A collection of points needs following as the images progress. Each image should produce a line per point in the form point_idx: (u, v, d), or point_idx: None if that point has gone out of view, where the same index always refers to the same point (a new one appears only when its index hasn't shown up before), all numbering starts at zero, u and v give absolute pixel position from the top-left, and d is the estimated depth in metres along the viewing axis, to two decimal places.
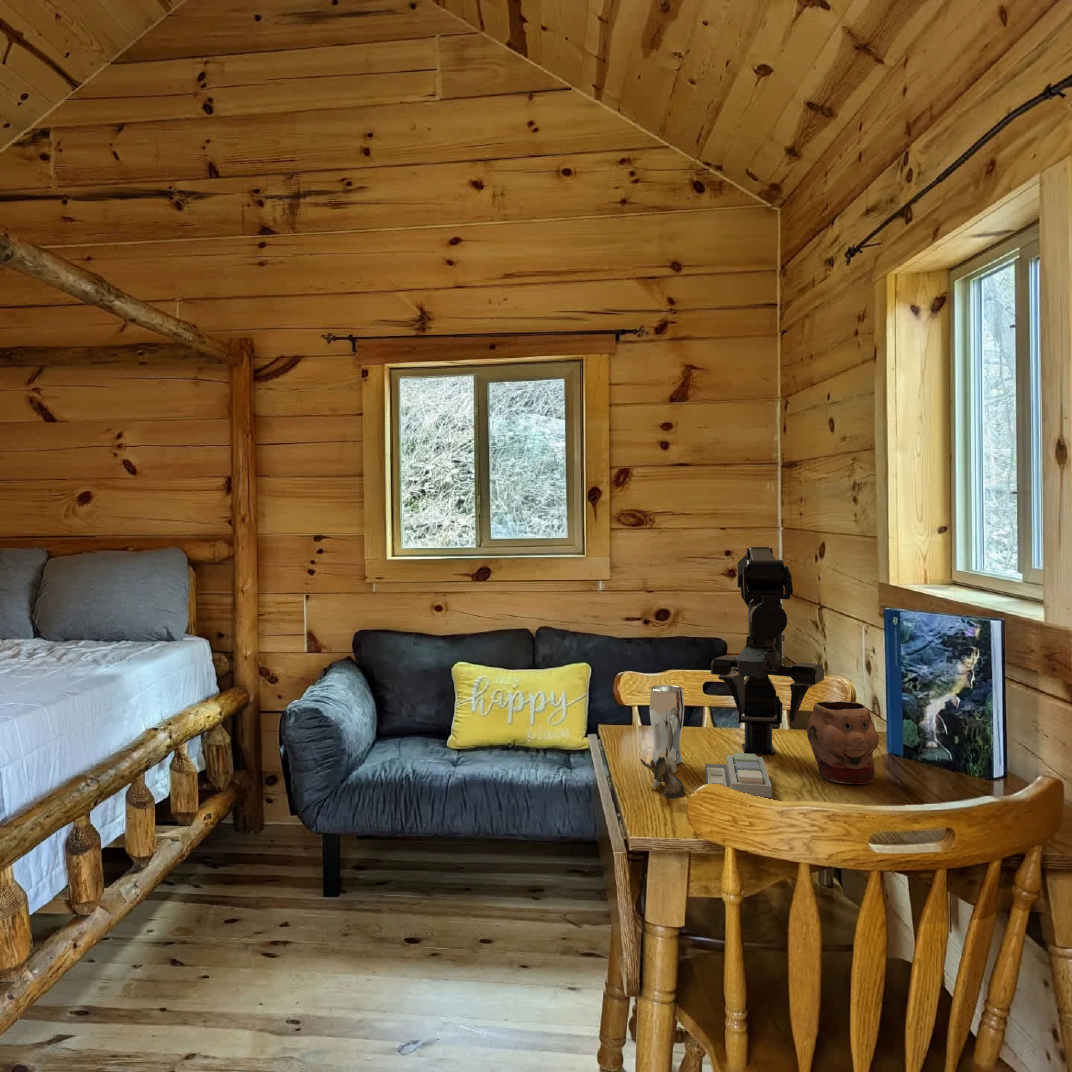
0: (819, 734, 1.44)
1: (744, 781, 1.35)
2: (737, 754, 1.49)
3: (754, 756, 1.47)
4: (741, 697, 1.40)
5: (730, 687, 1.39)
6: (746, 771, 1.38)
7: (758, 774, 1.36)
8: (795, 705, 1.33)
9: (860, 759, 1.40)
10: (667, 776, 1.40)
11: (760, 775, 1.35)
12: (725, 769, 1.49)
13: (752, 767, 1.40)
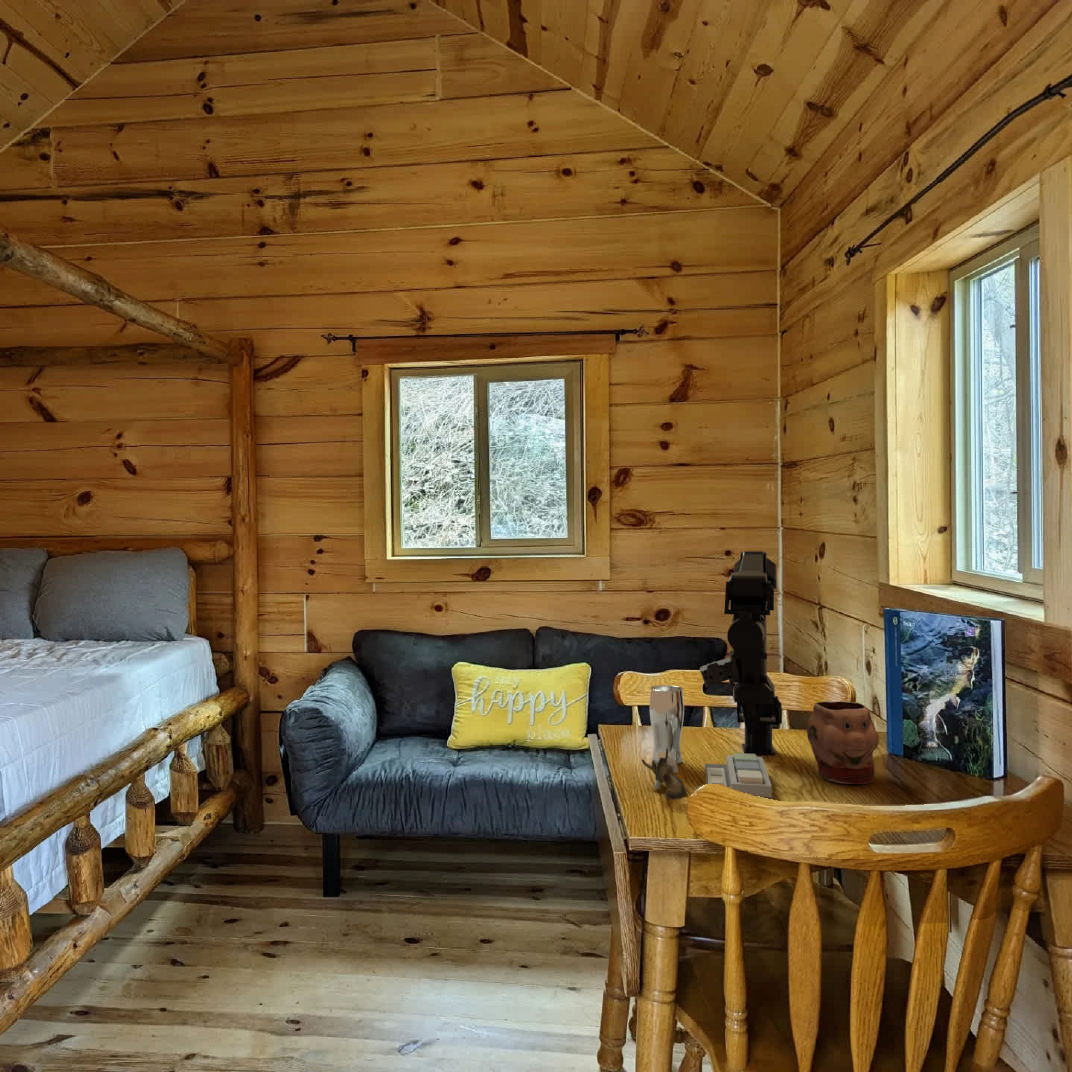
0: (819, 734, 1.44)
1: (744, 781, 1.35)
2: (737, 754, 1.49)
3: (754, 756, 1.47)
4: None
5: None
6: (746, 771, 1.38)
7: (758, 774, 1.36)
8: (743, 718, 1.35)
9: (860, 759, 1.40)
10: (668, 777, 1.39)
11: (760, 775, 1.35)
12: (725, 769, 1.49)
13: (752, 767, 1.40)
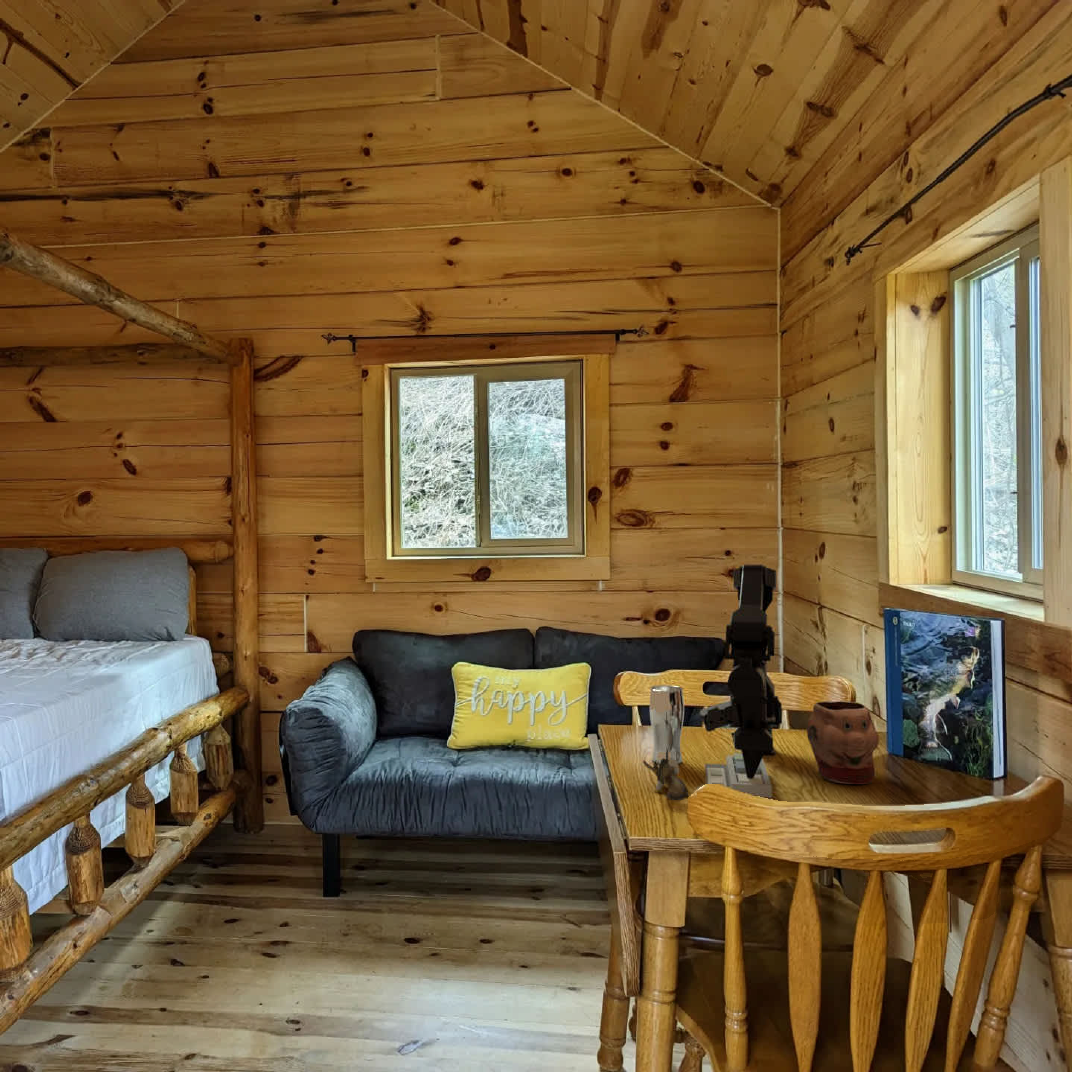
0: (819, 734, 1.44)
1: None
2: (737, 754, 1.49)
3: None
4: None
5: None
6: (746, 775, 1.38)
7: (758, 778, 1.36)
8: (744, 761, 1.36)
9: (860, 759, 1.40)
10: (670, 778, 1.39)
11: (760, 779, 1.35)
12: (725, 769, 1.49)
13: None
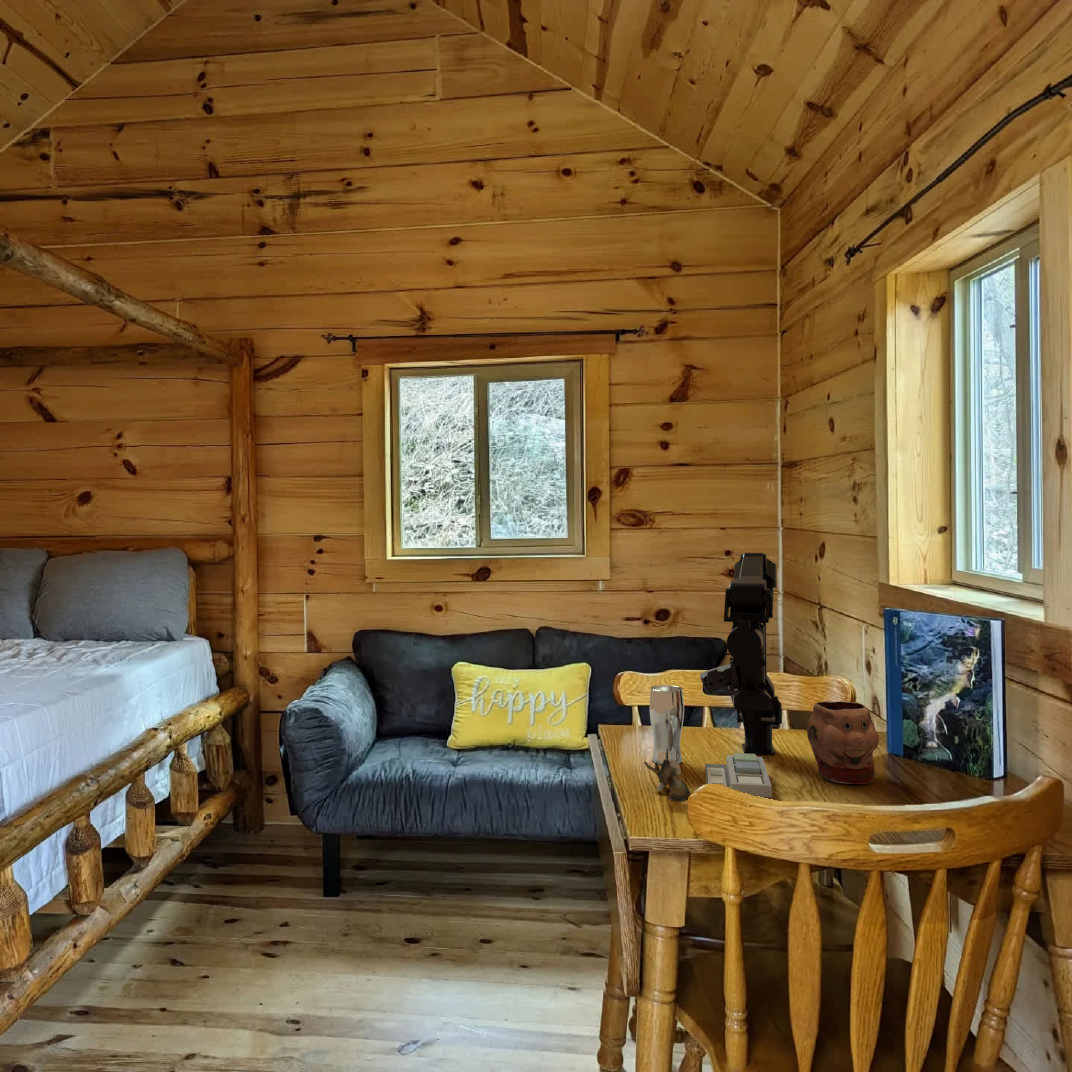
0: (819, 734, 1.44)
1: None
2: (737, 754, 1.49)
3: (754, 756, 1.47)
4: None
5: None
6: (746, 777, 1.38)
7: (758, 780, 1.36)
8: (743, 723, 1.38)
9: (860, 759, 1.40)
10: (672, 779, 1.38)
11: (760, 781, 1.35)
12: (725, 769, 1.49)
13: (752, 767, 1.40)
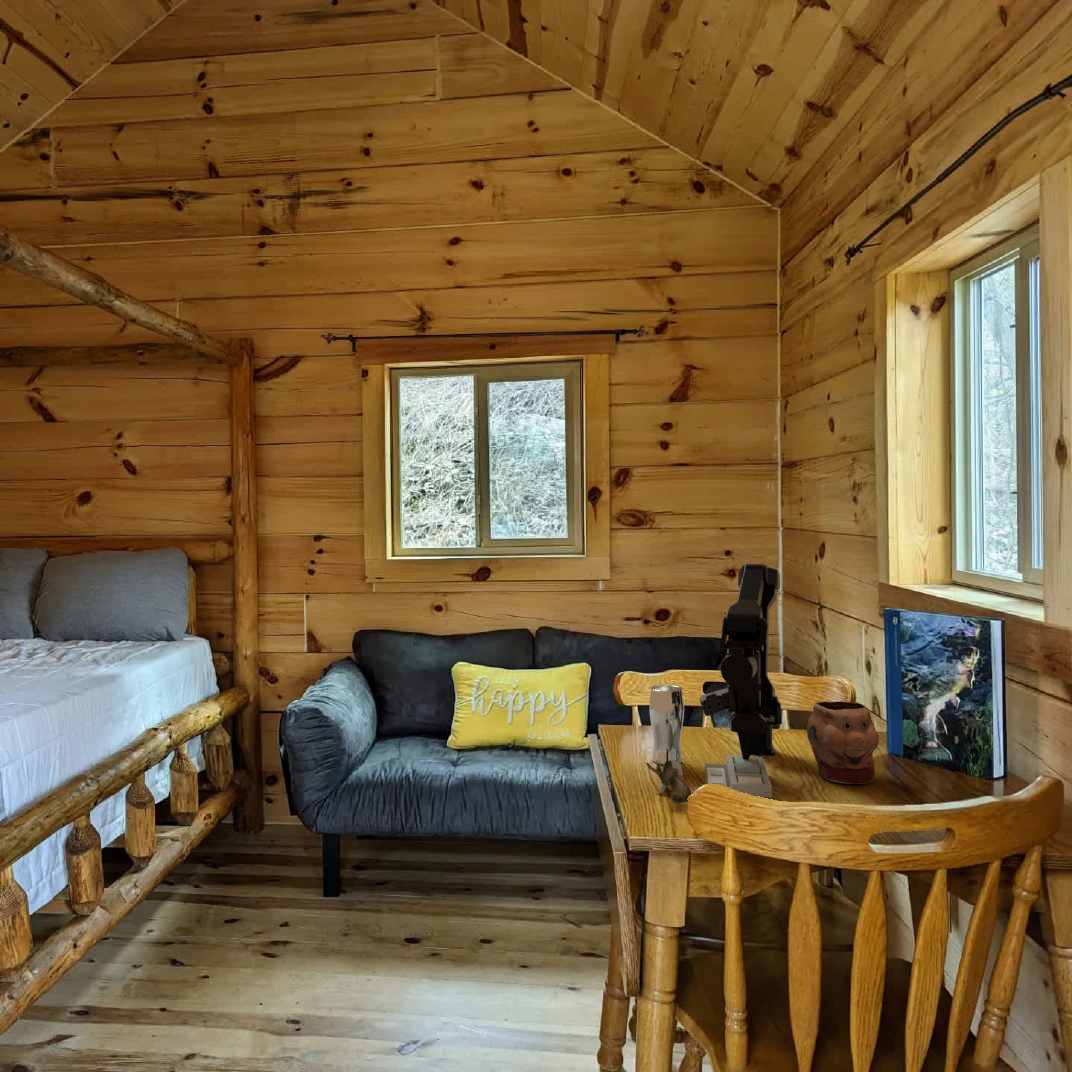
0: (819, 734, 1.44)
1: None
2: (737, 756, 1.49)
3: (754, 758, 1.47)
4: None
5: None
6: (746, 777, 1.38)
7: (758, 780, 1.36)
8: None
9: (860, 759, 1.40)
10: (674, 780, 1.38)
11: (760, 781, 1.35)
12: (725, 769, 1.49)
13: (752, 767, 1.40)
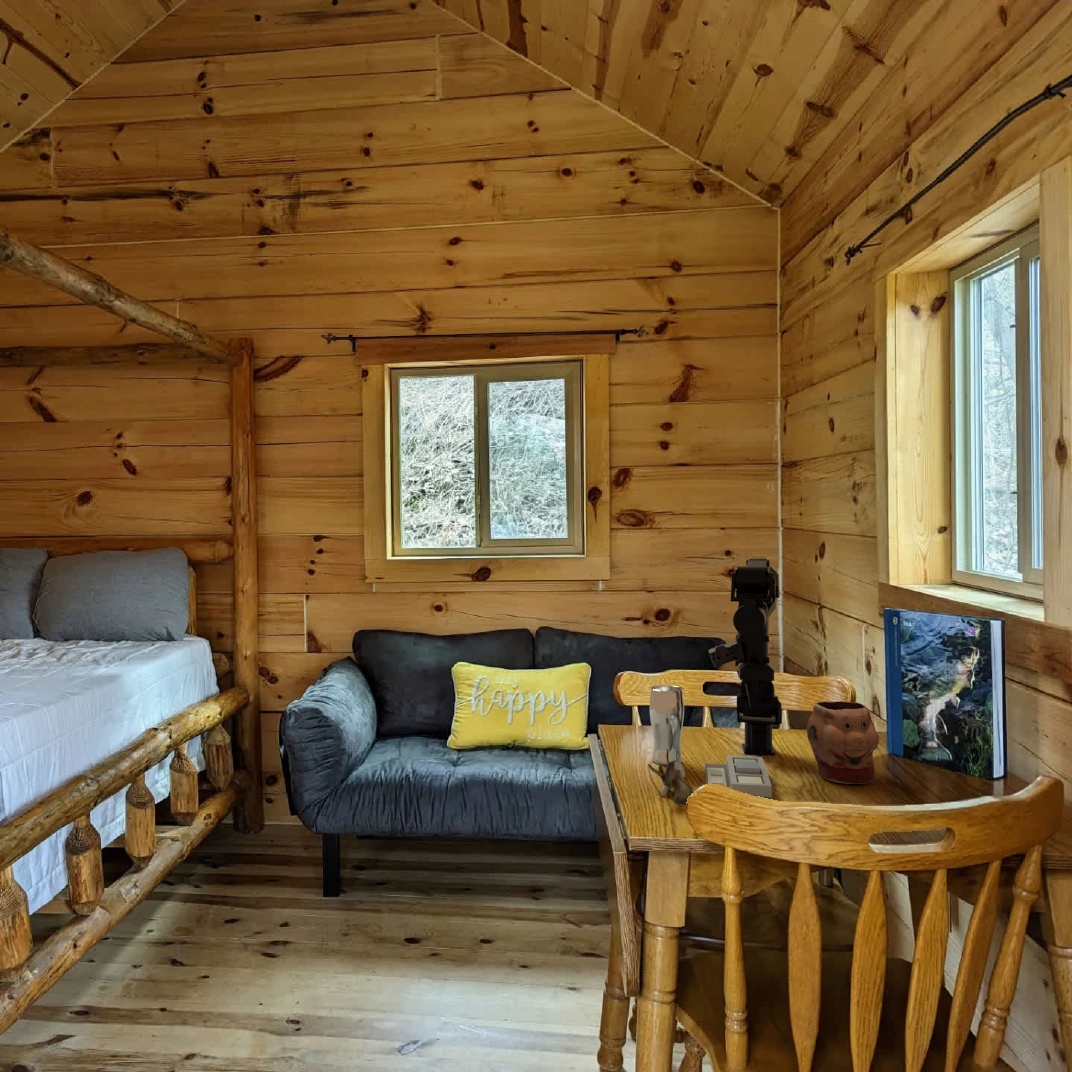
0: (819, 734, 1.44)
1: None
2: (737, 760, 1.49)
3: None
4: None
5: None
6: (746, 777, 1.38)
7: (758, 780, 1.36)
8: (748, 694, 1.51)
9: (860, 759, 1.40)
10: (676, 781, 1.37)
11: (760, 781, 1.35)
12: (725, 769, 1.49)
13: (752, 767, 1.40)
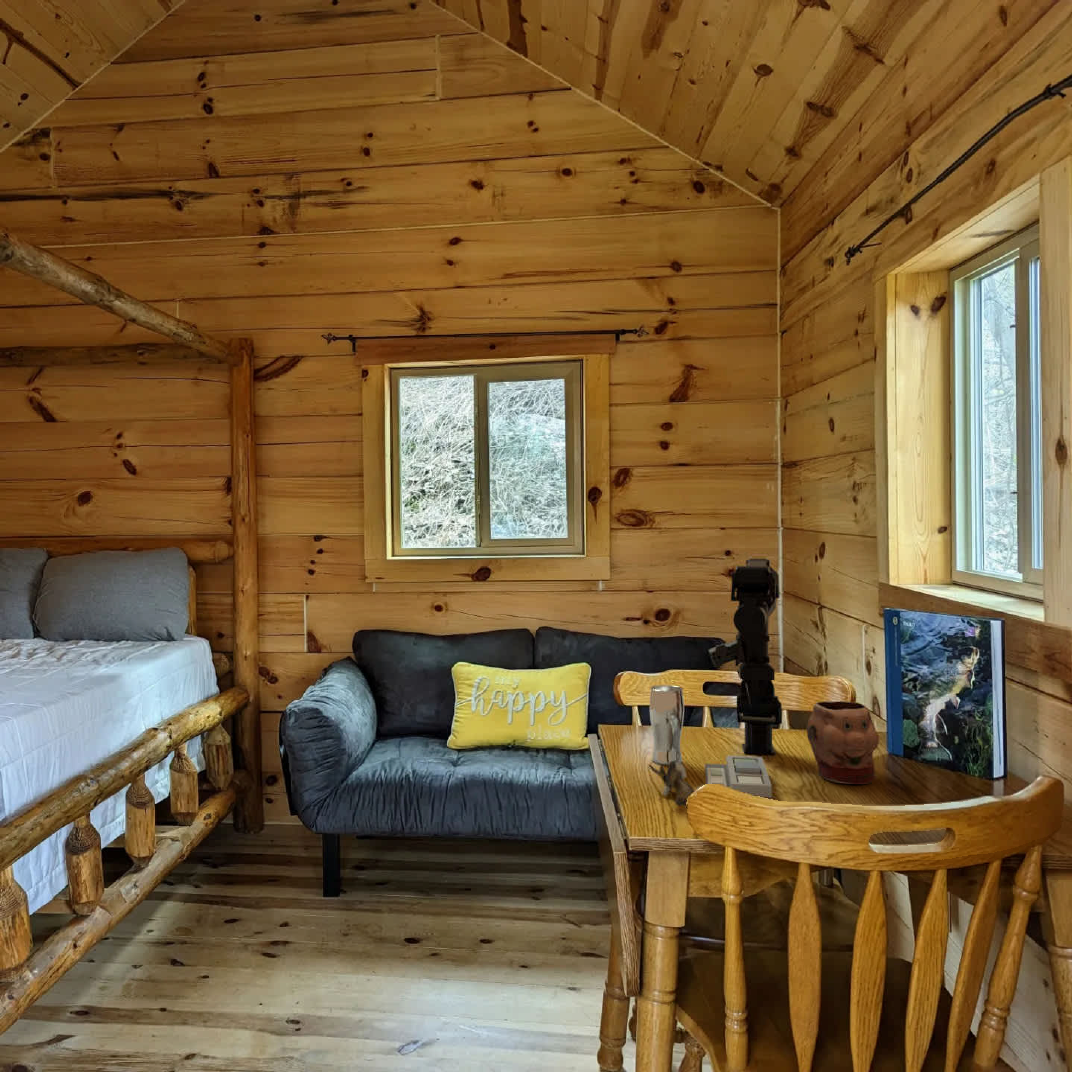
0: (819, 734, 1.44)
1: None
2: (737, 760, 1.49)
3: None
4: None
5: None
6: (746, 777, 1.38)
7: (758, 780, 1.36)
8: (748, 694, 1.51)
9: (860, 759, 1.40)
10: (678, 782, 1.36)
11: (760, 781, 1.35)
12: (725, 769, 1.49)
13: (752, 767, 1.40)
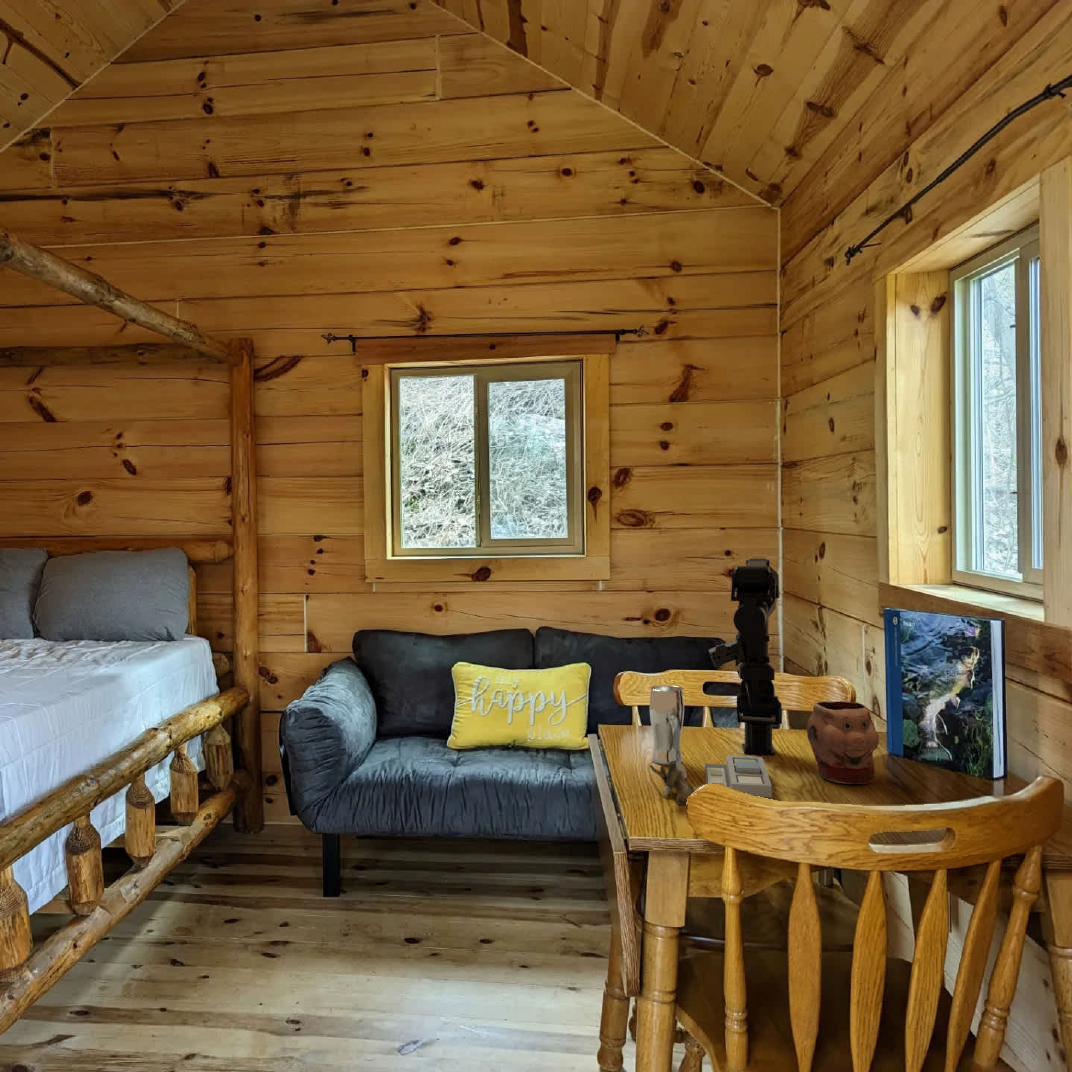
0: (819, 734, 1.44)
1: None
2: (737, 760, 1.49)
3: None
4: None
5: None
6: (746, 777, 1.38)
7: (758, 780, 1.36)
8: (748, 694, 1.51)
9: (860, 759, 1.40)
10: (678, 782, 1.36)
11: (760, 781, 1.35)
12: (725, 769, 1.49)
13: (752, 767, 1.40)
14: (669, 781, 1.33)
